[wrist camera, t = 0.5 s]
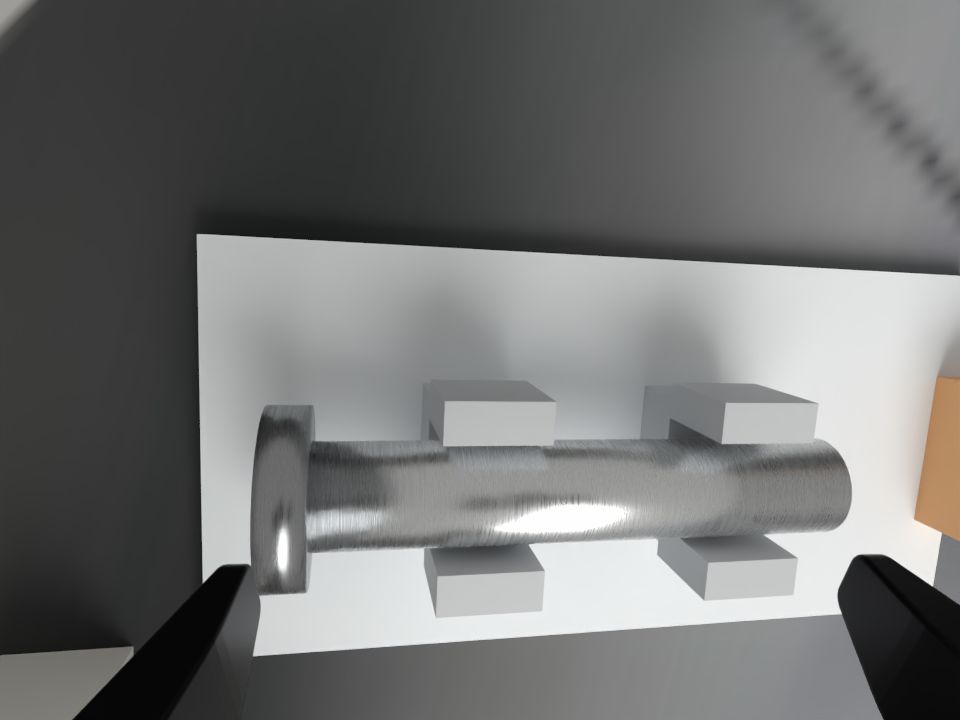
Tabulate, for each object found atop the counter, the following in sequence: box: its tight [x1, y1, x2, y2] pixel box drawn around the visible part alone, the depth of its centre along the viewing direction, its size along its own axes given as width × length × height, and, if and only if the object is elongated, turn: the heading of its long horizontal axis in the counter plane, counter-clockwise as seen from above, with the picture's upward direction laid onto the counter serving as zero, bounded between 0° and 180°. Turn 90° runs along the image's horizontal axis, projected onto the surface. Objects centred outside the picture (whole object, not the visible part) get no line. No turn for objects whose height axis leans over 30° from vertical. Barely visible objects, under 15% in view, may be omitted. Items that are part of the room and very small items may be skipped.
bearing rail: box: [197, 234, 960, 656], centre depth 21 cm, size 14×30×6 cm, turn 87°
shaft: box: [250, 405, 852, 596], centre depth 19 cm, size 5×17×5 cm, turn 87°
